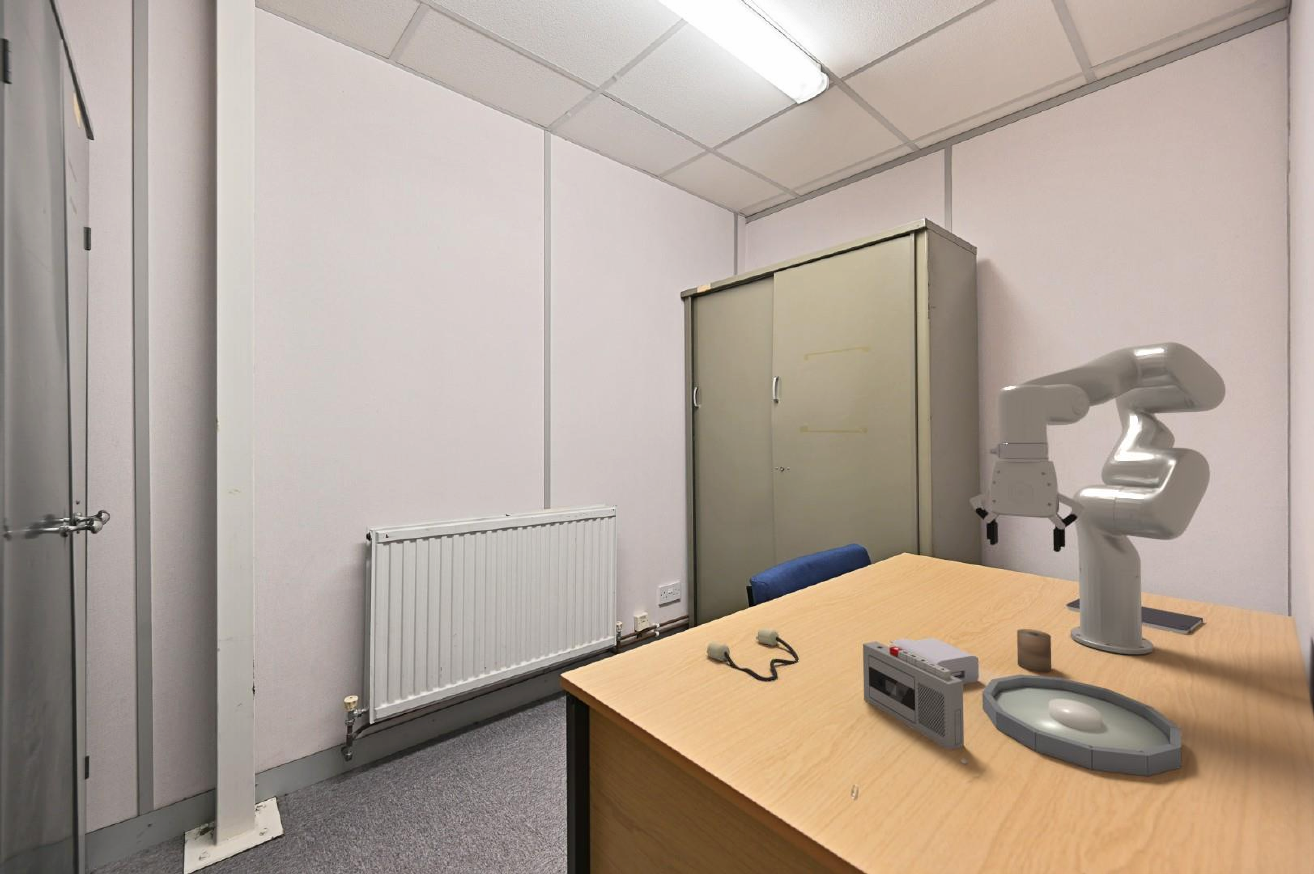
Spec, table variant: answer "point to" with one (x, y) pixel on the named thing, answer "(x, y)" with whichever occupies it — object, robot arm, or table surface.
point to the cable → (764, 636)
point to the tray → (1083, 724)
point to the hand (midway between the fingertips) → (1024, 547)
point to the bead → (1034, 650)
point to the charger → (943, 657)
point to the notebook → (1158, 619)
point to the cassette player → (915, 692)
